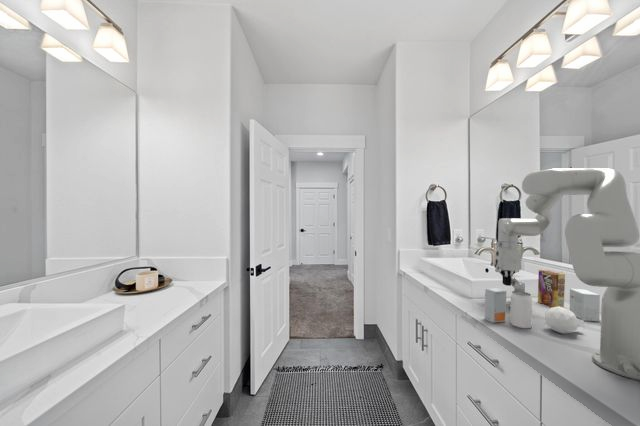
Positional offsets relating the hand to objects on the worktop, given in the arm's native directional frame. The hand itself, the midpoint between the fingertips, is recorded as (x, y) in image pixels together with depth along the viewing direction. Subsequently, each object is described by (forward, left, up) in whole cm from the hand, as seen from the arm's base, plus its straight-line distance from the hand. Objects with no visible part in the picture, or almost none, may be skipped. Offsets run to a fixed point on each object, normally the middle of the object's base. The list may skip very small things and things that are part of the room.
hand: (506, 284), depth 128 cm
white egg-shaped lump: (-26, -17, -9) cm, 32 cm away
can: (-28, -4, -9) cm, 29 cm away
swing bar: (-2, -3, -1) cm, 4 cm away
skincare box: (-28, +4, -9) cm, 29 cm away
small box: (-3, -26, -9) cm, 27 cm away
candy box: (+8, -17, -9) cm, 20 cm away
